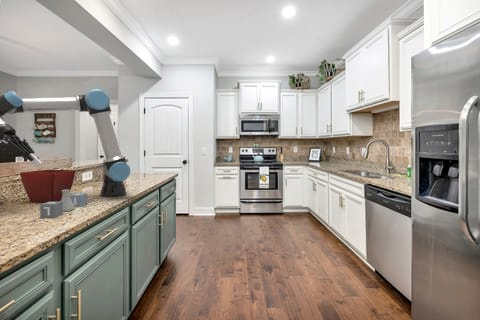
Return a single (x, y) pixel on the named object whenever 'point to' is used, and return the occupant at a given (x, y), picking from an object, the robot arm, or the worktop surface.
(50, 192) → the plant pot
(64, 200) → the flask
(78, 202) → the slate-blue marked block
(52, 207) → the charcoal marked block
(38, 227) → the worktop surface
